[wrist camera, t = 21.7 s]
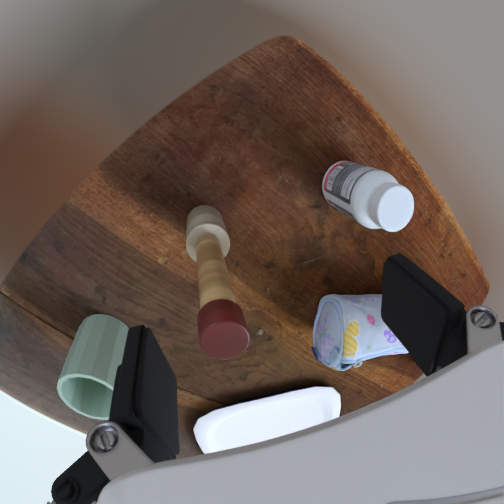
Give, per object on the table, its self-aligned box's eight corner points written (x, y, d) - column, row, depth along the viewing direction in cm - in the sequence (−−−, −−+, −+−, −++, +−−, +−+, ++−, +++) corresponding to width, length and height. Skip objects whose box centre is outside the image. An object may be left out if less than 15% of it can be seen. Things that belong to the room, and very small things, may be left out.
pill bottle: (369, 195, 32) (424, 222, 23) (330, 216, 32) (378, 251, 24) (354, 151, 30) (412, 166, 21) (313, 172, 30) (361, 194, 21)
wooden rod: (182, 210, 29) (175, 322, 13) (217, 200, 29) (254, 301, 13) (192, 243, 30) (200, 375, 14) (226, 233, 31) (268, 357, 15)
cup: (69, 320, 31) (44, 377, 22) (119, 308, 32) (102, 369, 23) (96, 363, 34) (82, 421, 25) (144, 354, 35) (137, 416, 26)
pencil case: (300, 338, 39) (327, 389, 30) (314, 280, 35) (350, 328, 27) (416, 324, 43) (449, 359, 35) (434, 277, 40) (474, 309, 31)
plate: (180, 405, 40) (181, 414, 39) (341, 368, 43) (346, 376, 42) (216, 469, 51) (217, 475, 49) (331, 441, 54) (334, 447, 52)
